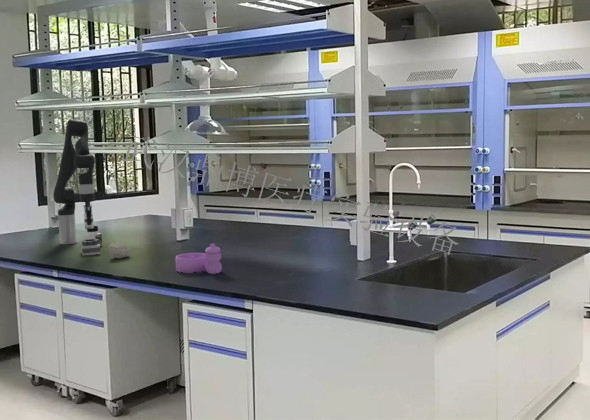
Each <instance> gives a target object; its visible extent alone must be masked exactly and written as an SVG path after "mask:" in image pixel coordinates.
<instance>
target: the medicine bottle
mask: <svg viewBox="0 0 590 420" xmlns="http://www.w3.org/2000/svg"><path fill="white" fill-rule="evenodd" d="M93 225H94V228H93V229H86V233H87V234H84V235H83V237H84V239H83V240H87V239H98V240H99V244H100V247H101V246H103V237H102V236H103V235H102V232H99V226H98V225H95V224H93Z"/></svg>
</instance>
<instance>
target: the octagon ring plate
mask: <svg viewBox="0 0 590 420" xmlns="http://www.w3.org/2000/svg"><path fill="white" fill-rule="evenodd" d="M80 249H81V254H82V256H84V257H85V255H86V256H95V255H96V254H97V255H101V246H100V244H99V240H98V239H87V240H84V239H82V240H81V242H80Z"/></svg>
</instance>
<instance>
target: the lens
mask: <svg viewBox="0 0 590 420" xmlns="http://www.w3.org/2000/svg"><path fill="white" fill-rule="evenodd" d="M88 215H90V214H88ZM91 215H92V217H91V223H92V224H91V225H87V217H86V214H85V213H84V214H83V217H84V220H83V221H84V229H85V230H87V229H93V228H94V225H95V224H94V214H93V212H92V213H91Z"/></svg>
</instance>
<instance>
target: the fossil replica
mask: <svg viewBox="0 0 590 420" xmlns="http://www.w3.org/2000/svg"><path fill="white" fill-rule="evenodd" d="M107 249H108V250H109V254H110V257H111V258H112V259H116V260H117V259H123V258H127V257H129V255H130V249H129V247H128V246H127V245H126V244H124V243H123V242H120V241H116V242H112V243H109V244H108V248H107Z"/></svg>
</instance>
